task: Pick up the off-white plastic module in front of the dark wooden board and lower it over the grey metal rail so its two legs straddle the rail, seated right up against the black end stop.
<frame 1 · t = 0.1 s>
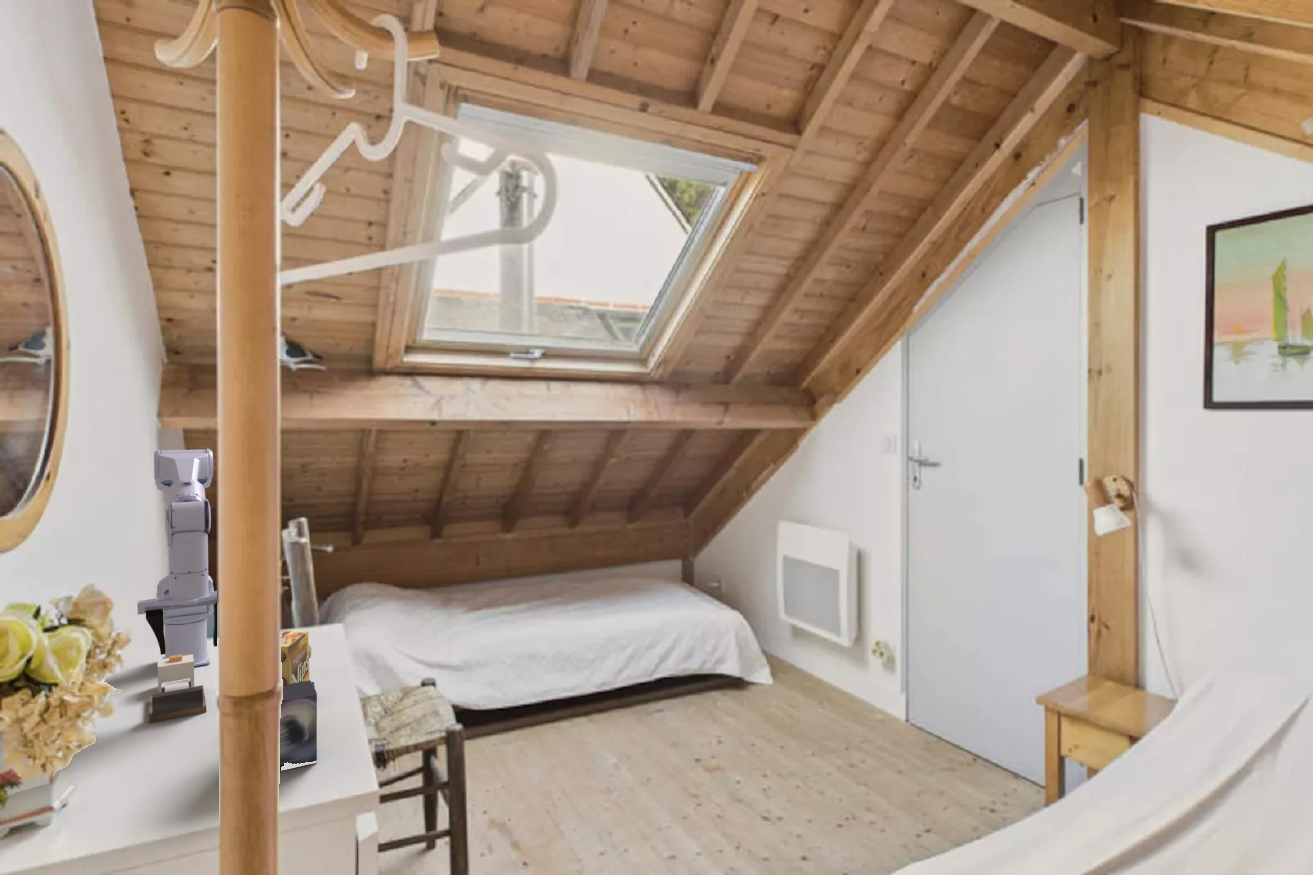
hand: (189, 649, 125), 10 cm above the table, tool pointing down, fingers open, 7 cm apart
candy box: (287, 736, 113), on the table
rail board: (177, 705, 125), on the table
module: (176, 687, 134), on the table
watch: (296, 707, 125), on the table
small box: (274, 766, 103), on the table
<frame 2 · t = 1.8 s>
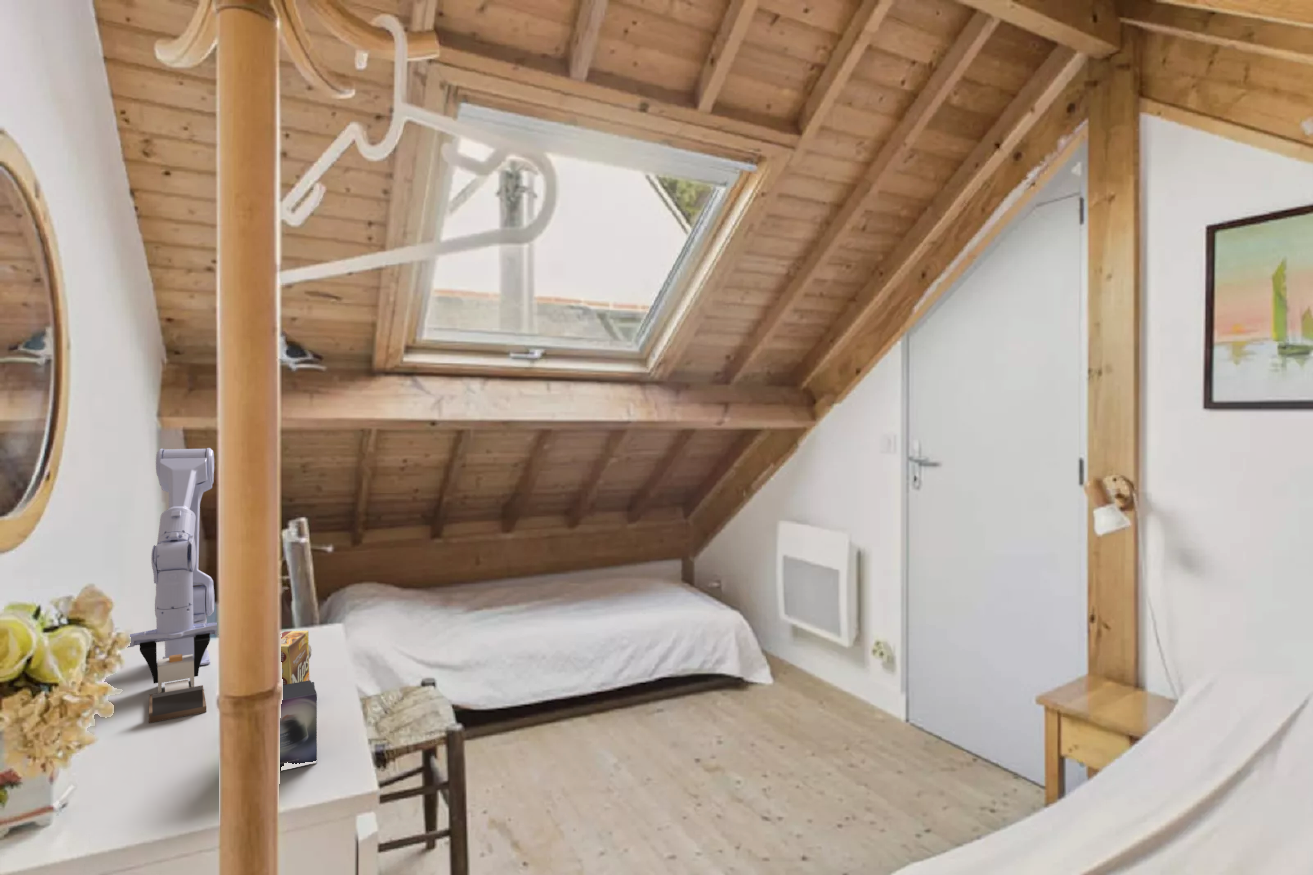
hand: (176, 678, 134), 2 cm above the table, tool pointing down, fingers closed on module, 5 cm apart
module: (176, 687, 134), on the table, touching gripper
everything else where it was.
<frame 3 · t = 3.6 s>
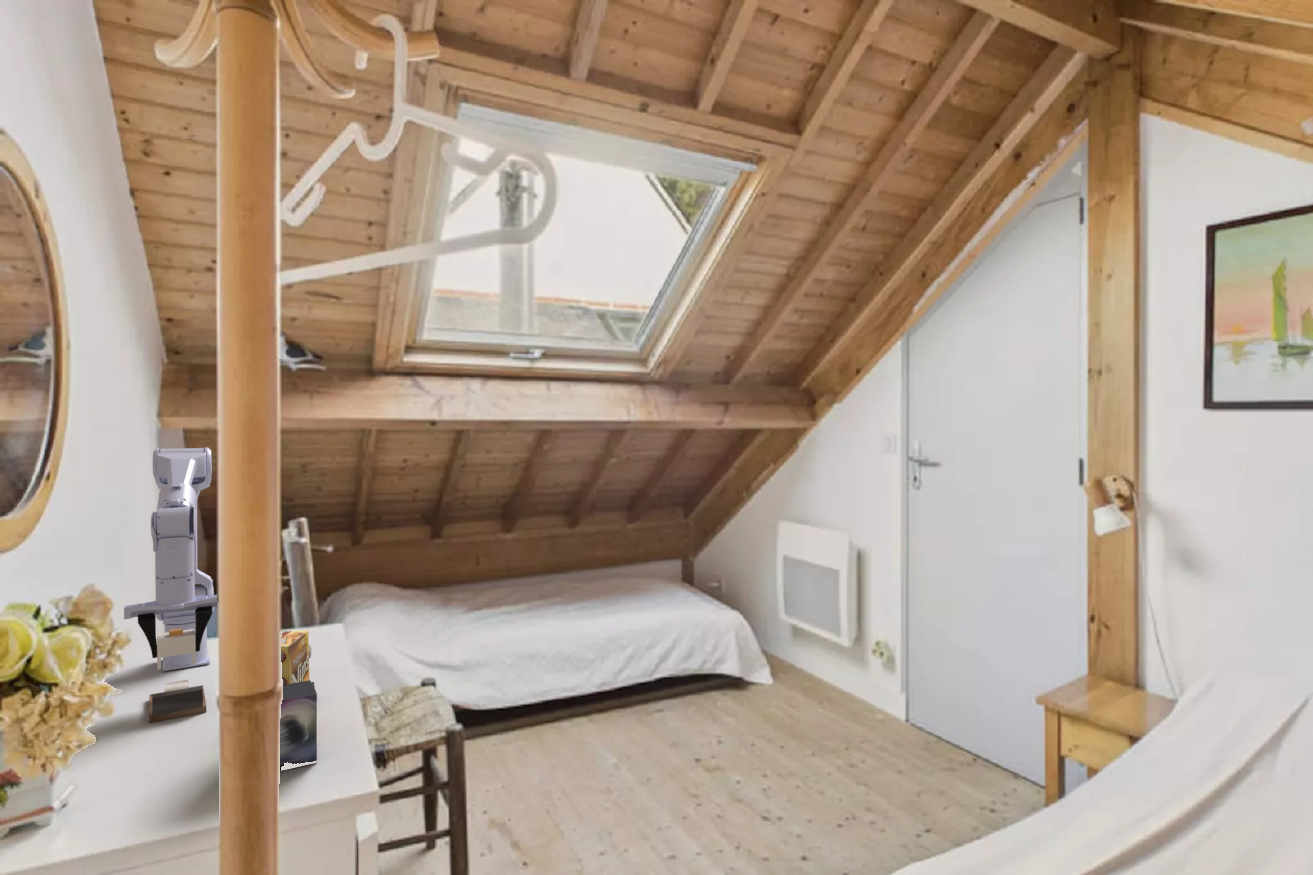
hand: (176, 653, 126), 9 cm above the table, tool pointing down, fingers closed on module, 5 cm apart
module: (176, 662, 126), point 7 cm above the table, touching gripper
everything else where it was.
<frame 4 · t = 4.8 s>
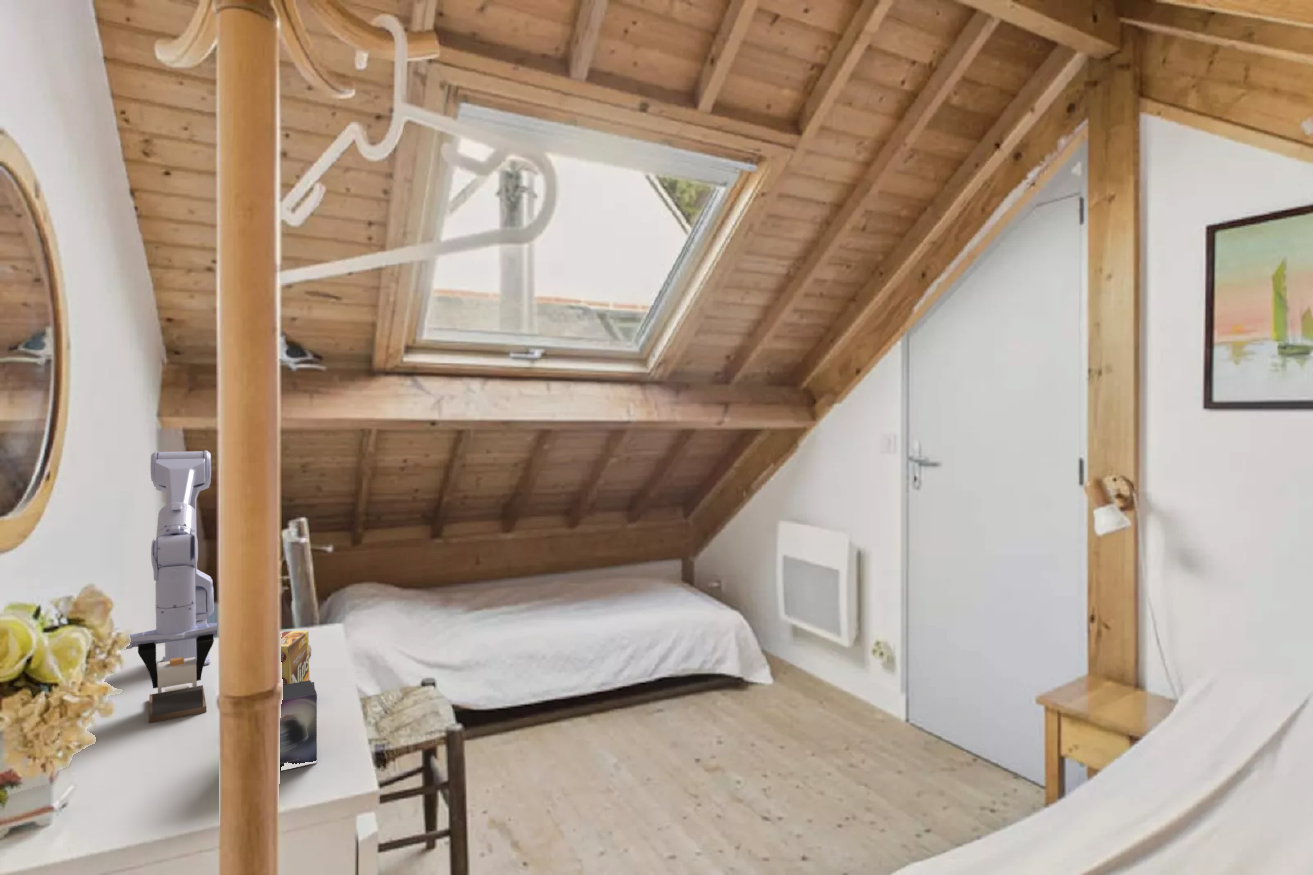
hand: (177, 682, 125), 4 cm above the table, tool pointing down, fingers closed on module, 5 cm apart
module: (177, 692, 125), point 2 cm above the table, touching gripper
everything else where it was.
when the fingers open (3 cm above the table, at t = 5.7 s): module stays where it is, resting on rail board.
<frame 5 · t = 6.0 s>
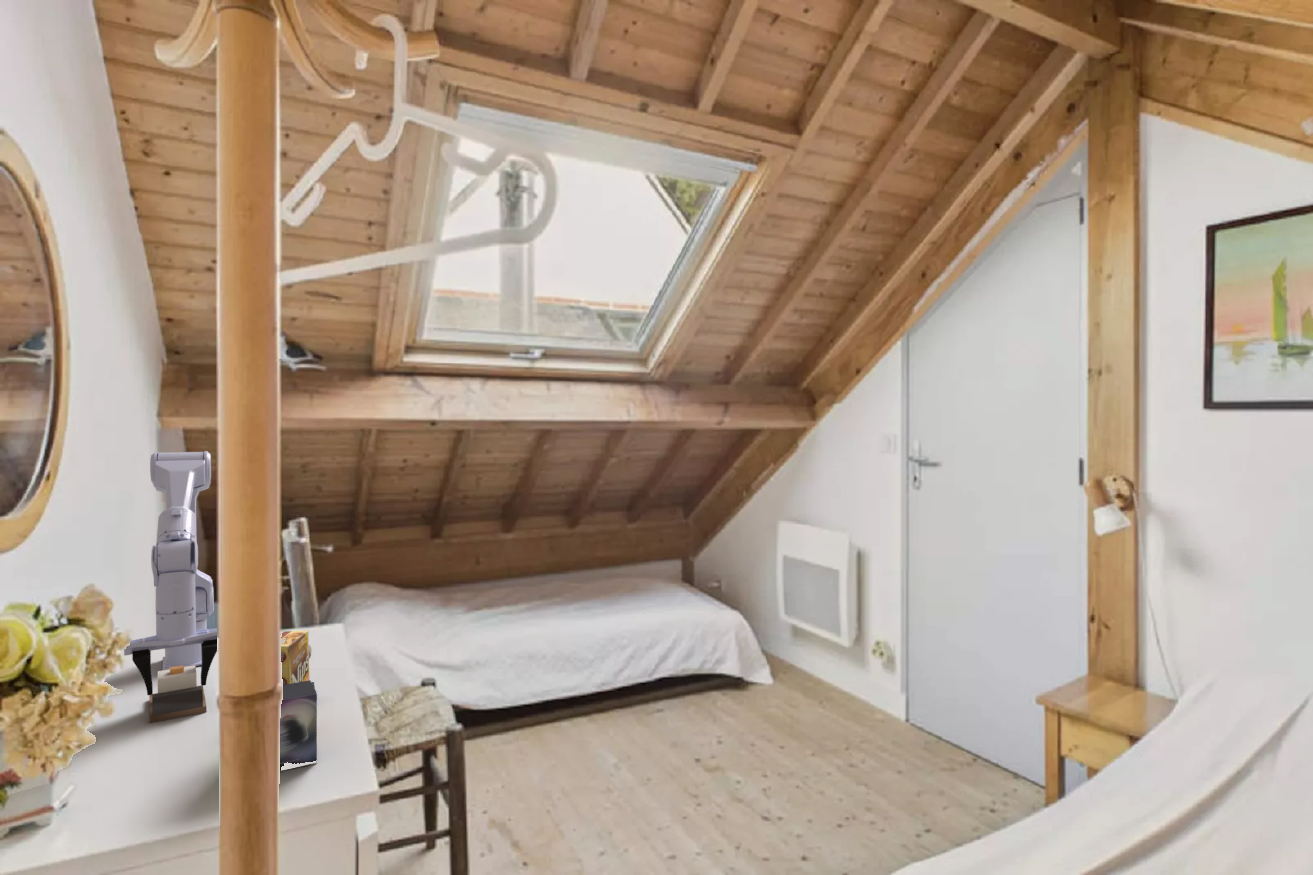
hand: (177, 688, 125), 3 cm above the table, tool pointing down, fingers open, 7 cm apart
module: (177, 700, 125), point 1 cm above the table, touching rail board
everything else where it was.
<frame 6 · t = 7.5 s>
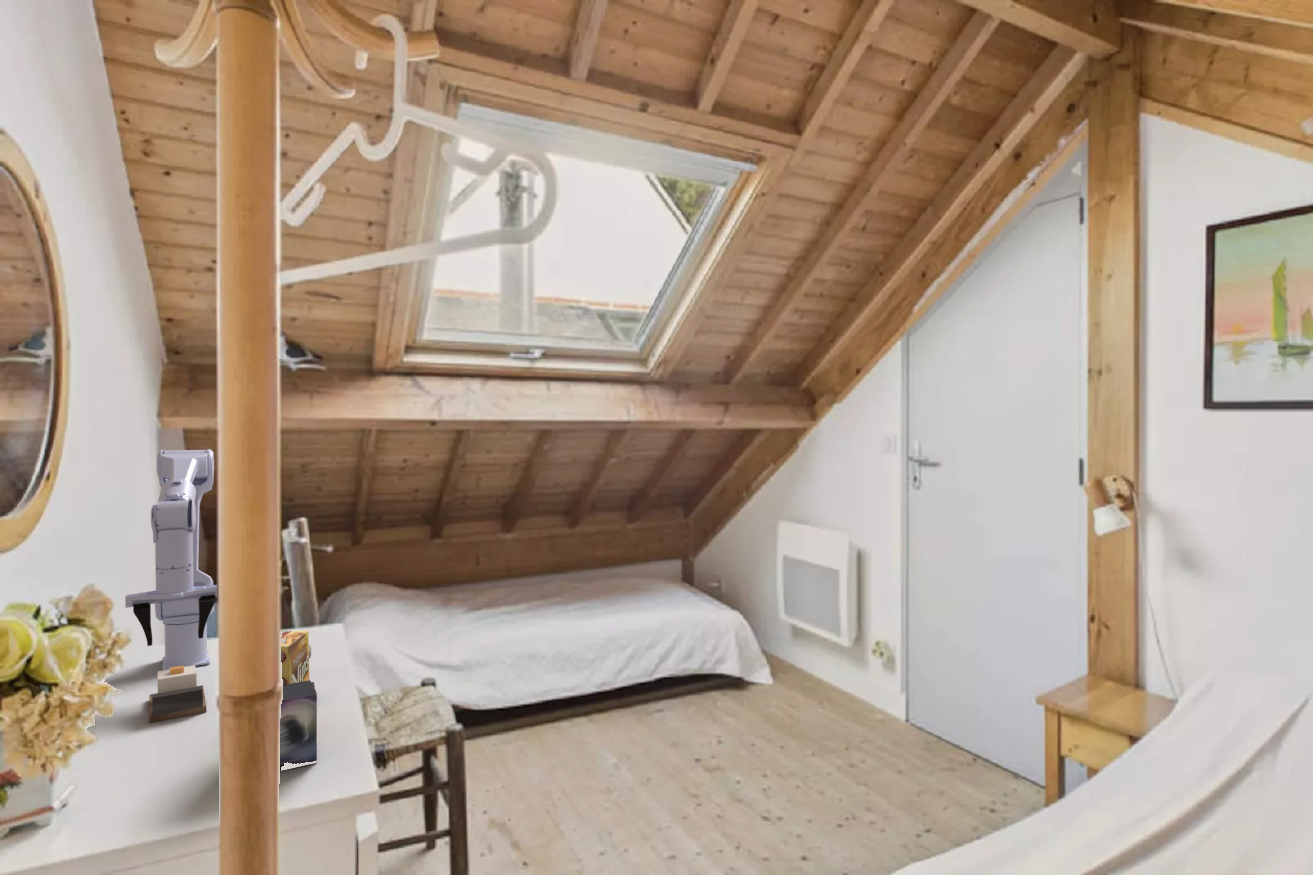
hand: (175, 640, 132), 9 cm above the table, tool pointing down, fingers open, 7 cm apart
nothing on the table moved.
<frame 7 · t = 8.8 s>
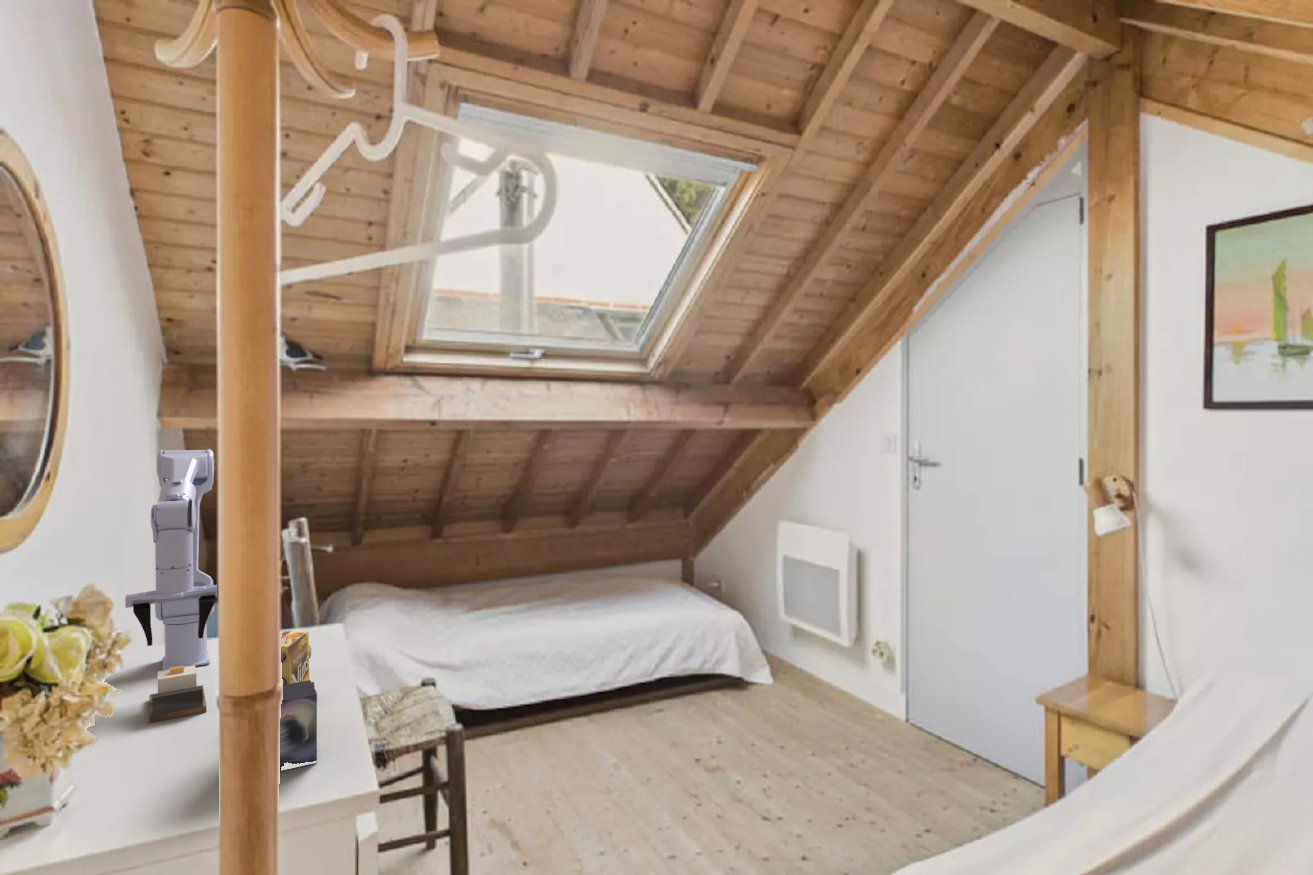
hand: (175, 640, 132), 9 cm above the table, tool pointing down, fingers open, 7 cm apart
nothing on the table moved.
at the end: module 0.7 cm from the target spot, point 1.0 cm above the table; module tilted 0°; the gripper is holding nothing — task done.
